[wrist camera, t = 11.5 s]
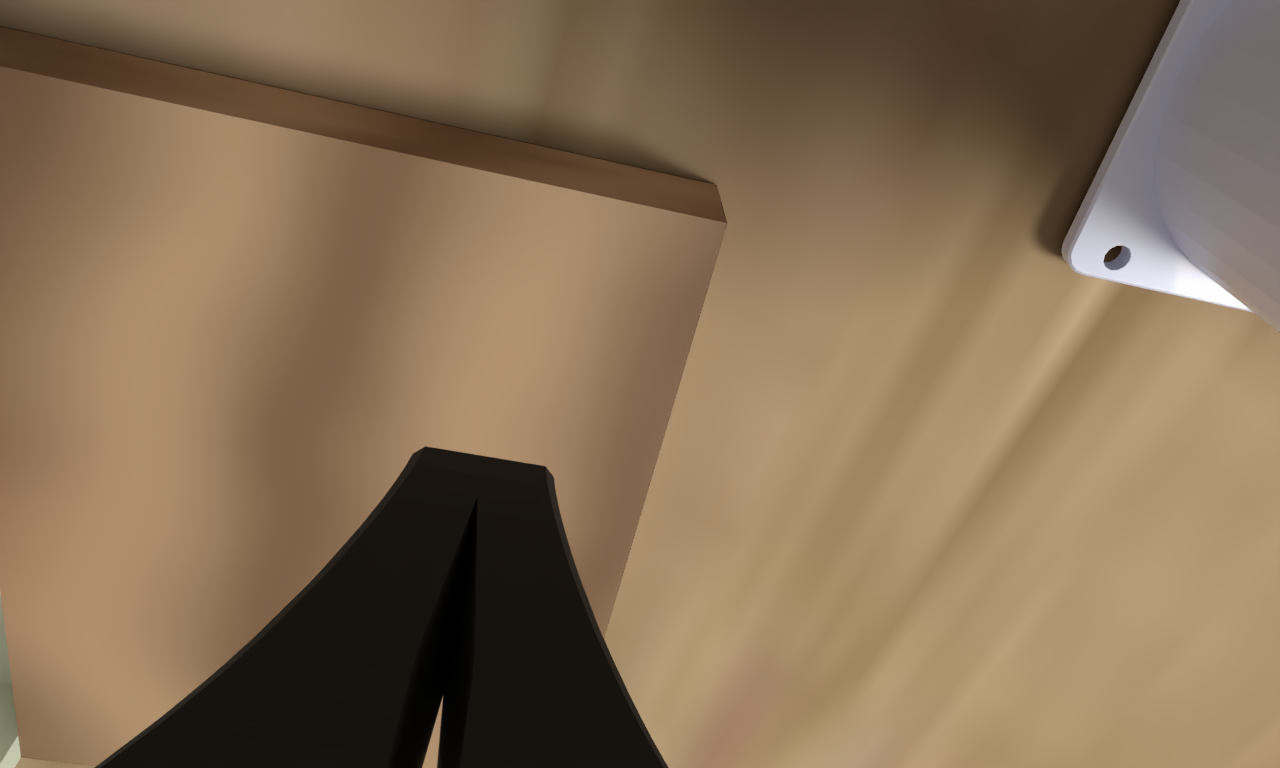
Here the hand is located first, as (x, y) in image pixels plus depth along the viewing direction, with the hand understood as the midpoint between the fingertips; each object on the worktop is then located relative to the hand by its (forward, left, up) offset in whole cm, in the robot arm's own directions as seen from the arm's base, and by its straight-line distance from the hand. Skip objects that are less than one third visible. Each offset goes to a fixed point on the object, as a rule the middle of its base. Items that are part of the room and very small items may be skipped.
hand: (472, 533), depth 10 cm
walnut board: (+3, +8, -10) cm, 13 cm away
